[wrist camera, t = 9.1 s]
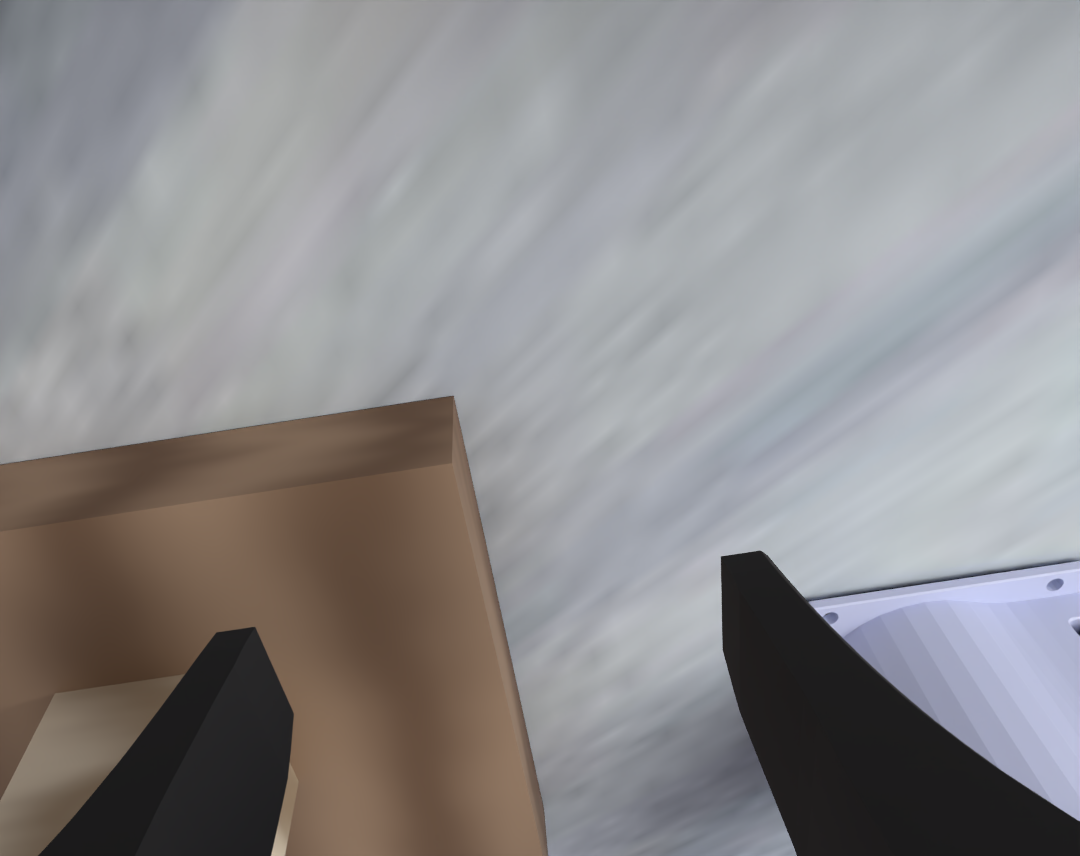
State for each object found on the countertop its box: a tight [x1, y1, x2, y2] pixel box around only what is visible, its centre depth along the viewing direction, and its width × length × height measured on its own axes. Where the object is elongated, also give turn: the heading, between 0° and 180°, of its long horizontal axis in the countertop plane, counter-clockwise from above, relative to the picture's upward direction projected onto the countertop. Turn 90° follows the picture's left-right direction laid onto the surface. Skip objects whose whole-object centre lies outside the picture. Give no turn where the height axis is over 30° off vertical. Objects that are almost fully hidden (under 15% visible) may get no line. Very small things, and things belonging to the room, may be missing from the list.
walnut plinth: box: [0, 396, 548, 856], centre depth 25 cm, size 18×18×3 cm
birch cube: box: [0, 674, 299, 856], centre depth 21 cm, size 5×5×5 cm
